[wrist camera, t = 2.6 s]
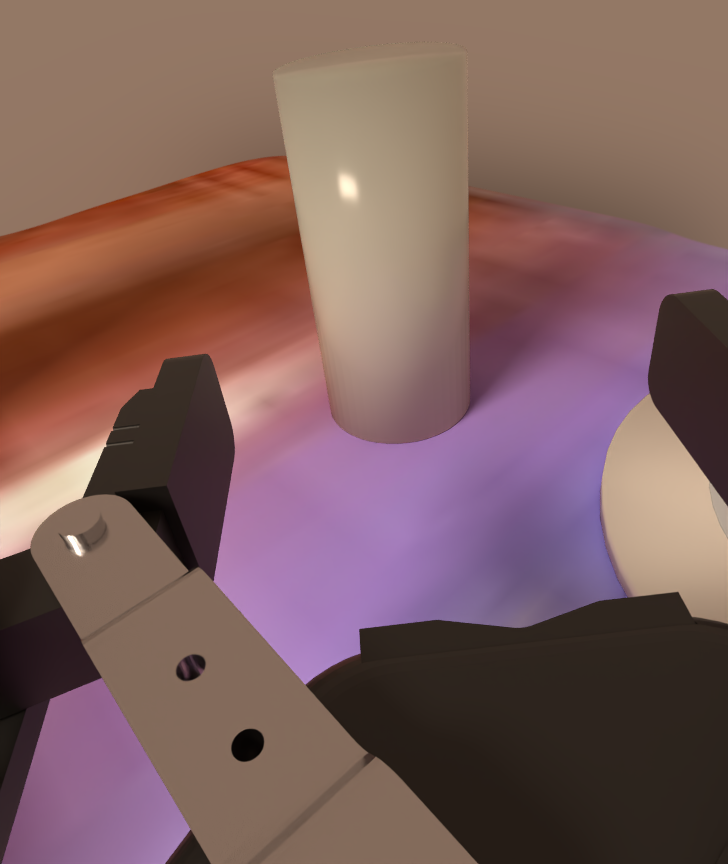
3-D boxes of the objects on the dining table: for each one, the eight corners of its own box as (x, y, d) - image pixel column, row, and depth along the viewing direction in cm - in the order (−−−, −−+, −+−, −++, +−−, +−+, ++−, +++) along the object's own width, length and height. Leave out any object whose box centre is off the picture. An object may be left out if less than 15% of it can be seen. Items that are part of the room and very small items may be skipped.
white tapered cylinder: (301, 411, 26) (233, 78, 19) (390, 349, 29) (361, 41, 22) (410, 463, 23) (378, 86, 16) (497, 387, 26) (505, 42, 19)
